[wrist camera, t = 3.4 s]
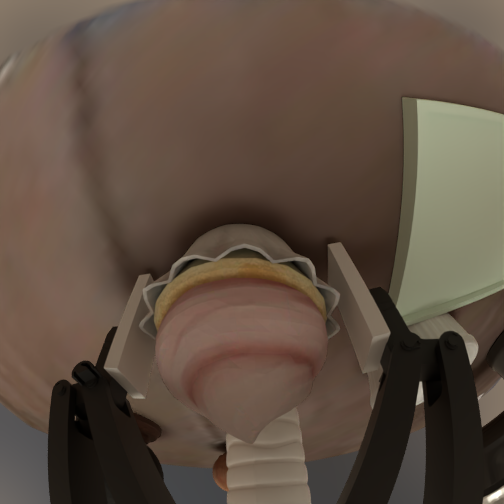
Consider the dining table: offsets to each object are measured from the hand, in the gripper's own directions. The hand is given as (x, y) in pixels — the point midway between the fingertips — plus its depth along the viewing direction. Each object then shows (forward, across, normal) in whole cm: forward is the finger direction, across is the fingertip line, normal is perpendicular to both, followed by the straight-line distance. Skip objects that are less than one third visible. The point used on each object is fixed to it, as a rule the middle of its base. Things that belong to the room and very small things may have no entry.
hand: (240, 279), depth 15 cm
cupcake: (+1, 0, 0) cm, 1 cm away
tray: (+1, -19, -1) cm, 19 cm away
